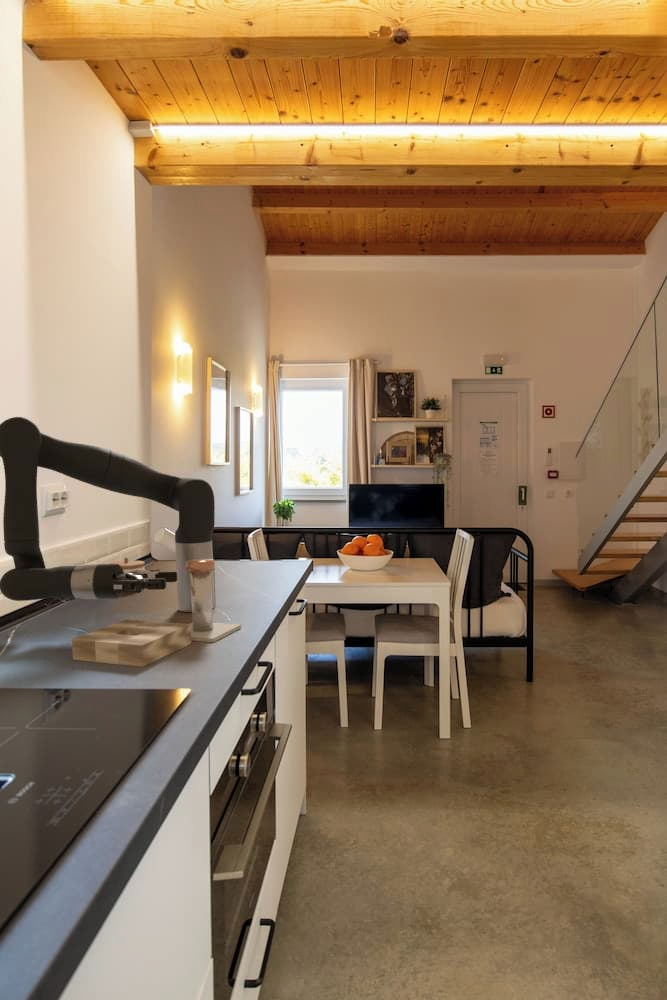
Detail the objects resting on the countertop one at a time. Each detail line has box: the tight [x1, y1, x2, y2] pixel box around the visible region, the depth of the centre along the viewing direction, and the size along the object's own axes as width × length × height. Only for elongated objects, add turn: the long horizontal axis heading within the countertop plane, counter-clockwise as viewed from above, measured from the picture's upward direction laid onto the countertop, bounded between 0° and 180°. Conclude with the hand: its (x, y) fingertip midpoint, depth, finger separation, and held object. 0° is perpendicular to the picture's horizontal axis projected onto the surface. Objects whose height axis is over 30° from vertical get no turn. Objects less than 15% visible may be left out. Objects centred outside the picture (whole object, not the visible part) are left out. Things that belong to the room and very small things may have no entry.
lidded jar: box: [109, 557, 146, 573], centre depth 198 cm, size 11×11×9 cm
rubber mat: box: [189, 622, 242, 643], centre depth 143 cm, size 12×12×1 cm
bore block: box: [71, 619, 192, 668], centre depth 130 cm, size 16×16×4 cm
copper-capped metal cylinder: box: [186, 558, 216, 632], centre depth 143 cm, size 6×6×15 cm
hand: (171, 580), depth 143 cm, fingers open, 8 cm apart
